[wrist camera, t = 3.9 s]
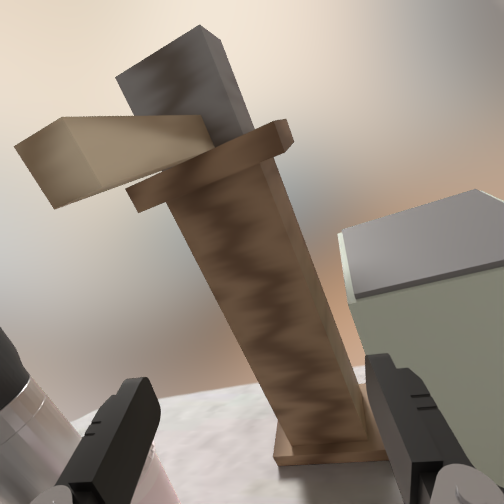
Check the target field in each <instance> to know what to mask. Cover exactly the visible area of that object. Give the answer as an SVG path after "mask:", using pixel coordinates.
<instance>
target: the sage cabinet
mask: <svg viewBox="0 0 504 504" xmlns="http://www.w3.org/2000/svg"><path fill="white" fill-rule="evenodd" d="M338 240H339V247H340V254H341V261H342V268H343V274H344V281H345V288H346V294H347V301H348V306H349V309H350V311H351V314H352V317H353V320H354V323H355V326H356V328H357V331H358V334H359V337H360V340H361V343H362V346H363V349H364V351H365V354H366V355H371V354H382V353H388V354H389V355H390V356H391V358H392V360H393V362H394V364H395V366H396V368H409V369H410V370H412V371H413V372H414V373H415V374H416V375H417V376H419V377H420V378H421V379H422V380H423V382H424V384H425V385H426V387H427V389H428V391H429V392H430V395H431V397H433V399H434V401H435V403H436V404H437V406H438V409H440V411H441V413H442V415H443V416H444V418H445V420H446V421H447V423H448V425H449V427H450V428H451V430H452V432H453V433H454V435H455V437H456V439H457V440H458V442H459V444H460V445H461V447H462V449H463V451H464V452H465V454H466V456H467V457H468V459H469V460H470V462H471V463H472V464H473V466H474V467H475V468H476V469H477V470H479V471H480V472H482V473H484V474H485V475H486V476H488V477H489V478H490V479H491V480H492V481H493V482H494V483H495V484H497V485H499V486H500V487H503V488H504V201H502V200H500V199H498V198H496V197H494V196H492V195H490V194H488V193H486V192H484V191H479V190H477V189H474V190H470V191H467V192H464V193H461V194H458V195H454V196H451V197H448V198H444V199H441V200H438V201H434V202H431V203H428V204H425V205H421V206H418V207H415V208H411V209H408V210H405V211H401V212H398V213H395V214H392V215H388V216H385V217H382V218H378V219H375V220H372V221H369V222H366V223H362V224H359V225H356V226H352V227H349V228H346V229H343V230H342V233H339V234H338Z"/></svg>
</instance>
